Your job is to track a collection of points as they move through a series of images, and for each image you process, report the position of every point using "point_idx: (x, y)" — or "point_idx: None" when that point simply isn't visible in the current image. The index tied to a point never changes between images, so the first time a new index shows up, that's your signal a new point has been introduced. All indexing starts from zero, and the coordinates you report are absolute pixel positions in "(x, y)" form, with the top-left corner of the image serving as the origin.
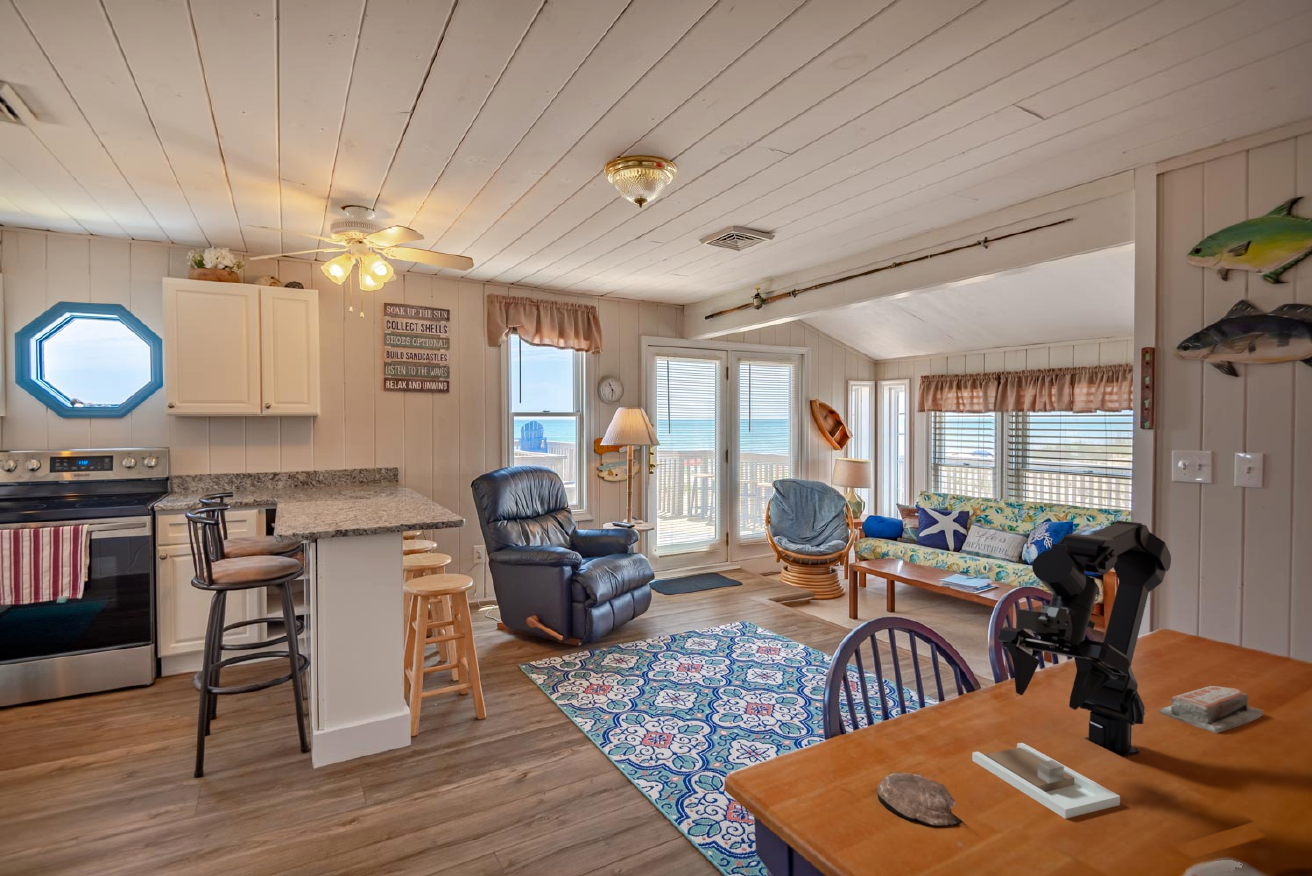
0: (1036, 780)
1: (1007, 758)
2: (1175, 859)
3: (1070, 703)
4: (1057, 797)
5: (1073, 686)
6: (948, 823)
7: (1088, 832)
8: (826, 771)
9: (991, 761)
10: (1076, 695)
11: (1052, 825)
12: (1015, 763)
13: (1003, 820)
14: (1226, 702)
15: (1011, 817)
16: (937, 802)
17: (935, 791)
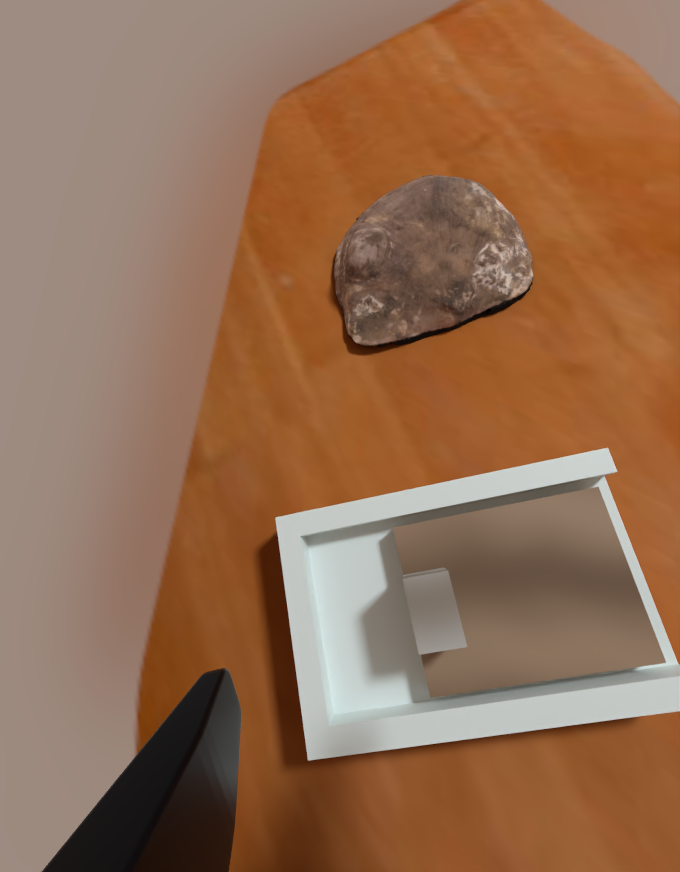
0: (423, 547)
1: (569, 548)
2: (152, 697)
3: (208, 685)
4: (370, 573)
5: (126, 865)
6: (336, 279)
7: (270, 569)
8: (562, 119)
9: (543, 476)
10: (126, 776)
11: (307, 501)
12: (532, 552)
13: (340, 401)
14: None
15: (348, 426)
16: (353, 243)
17: (394, 253)
